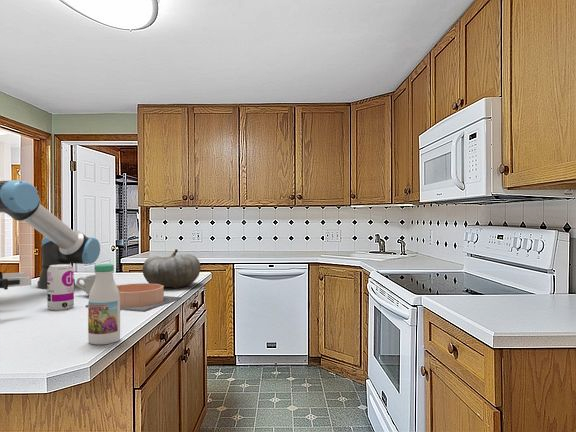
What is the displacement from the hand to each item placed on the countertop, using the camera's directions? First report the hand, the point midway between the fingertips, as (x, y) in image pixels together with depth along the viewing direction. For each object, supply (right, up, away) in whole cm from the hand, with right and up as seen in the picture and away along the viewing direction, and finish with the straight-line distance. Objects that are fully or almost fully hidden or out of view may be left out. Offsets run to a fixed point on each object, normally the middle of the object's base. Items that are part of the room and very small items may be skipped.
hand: (28, 278), depth 152 cm
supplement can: (+8, -11, +6) cm, 15 cm away
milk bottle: (+39, -12, -34) cm, 53 cm away
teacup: (+10, -11, +30) cm, 33 cm away
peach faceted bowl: (+31, -11, +16) cm, 36 cm away
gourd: (+35, -11, +52) cm, 64 cm away
